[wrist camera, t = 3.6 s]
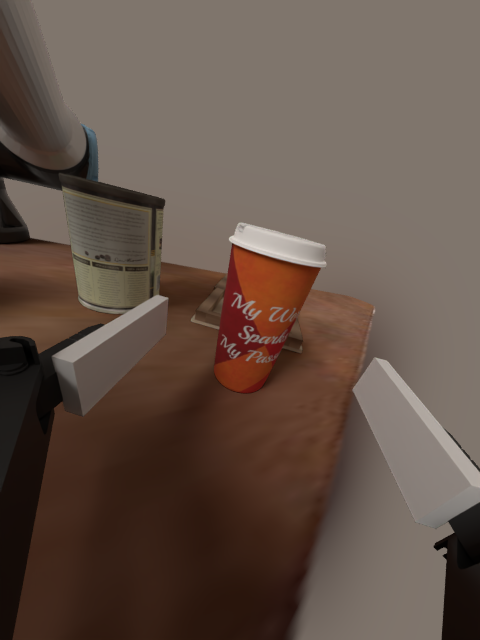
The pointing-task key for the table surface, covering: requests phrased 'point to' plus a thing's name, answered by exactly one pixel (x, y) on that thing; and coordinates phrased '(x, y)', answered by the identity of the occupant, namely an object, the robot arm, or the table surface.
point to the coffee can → (113, 243)
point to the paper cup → (262, 302)
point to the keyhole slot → (212, 311)
